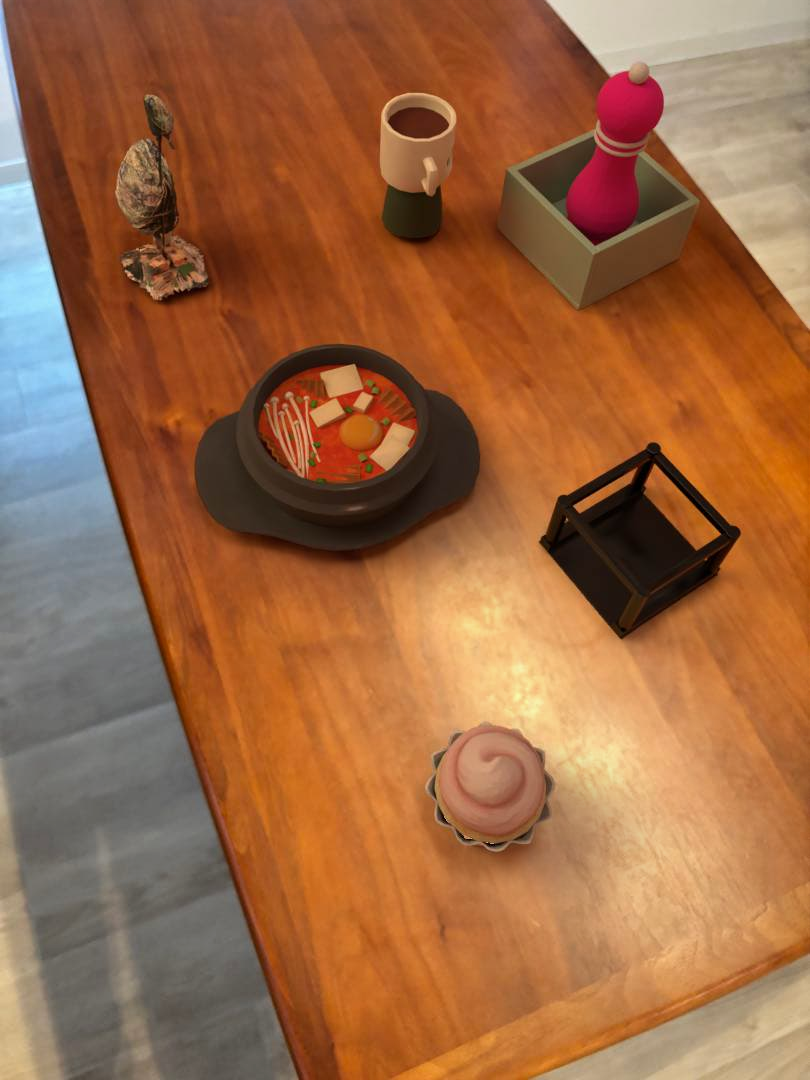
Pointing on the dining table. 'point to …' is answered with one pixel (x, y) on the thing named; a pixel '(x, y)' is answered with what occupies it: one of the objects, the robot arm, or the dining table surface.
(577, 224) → the pepper mill
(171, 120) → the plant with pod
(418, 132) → the character mug
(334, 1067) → the dining table surface
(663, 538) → the black open frame holder
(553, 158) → the open square box
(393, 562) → the dining table surface
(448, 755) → the cupcake
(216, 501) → the casserole
